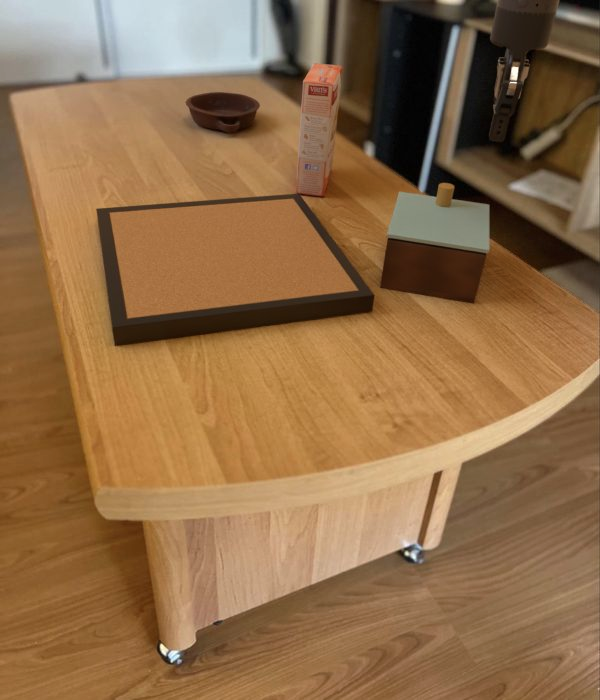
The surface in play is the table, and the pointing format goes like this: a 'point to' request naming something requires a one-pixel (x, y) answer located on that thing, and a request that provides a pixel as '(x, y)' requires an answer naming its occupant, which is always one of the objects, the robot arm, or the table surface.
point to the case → (432, 270)
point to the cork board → (222, 267)
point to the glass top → (441, 220)
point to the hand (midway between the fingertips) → (496, 139)
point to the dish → (223, 110)
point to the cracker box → (318, 128)
